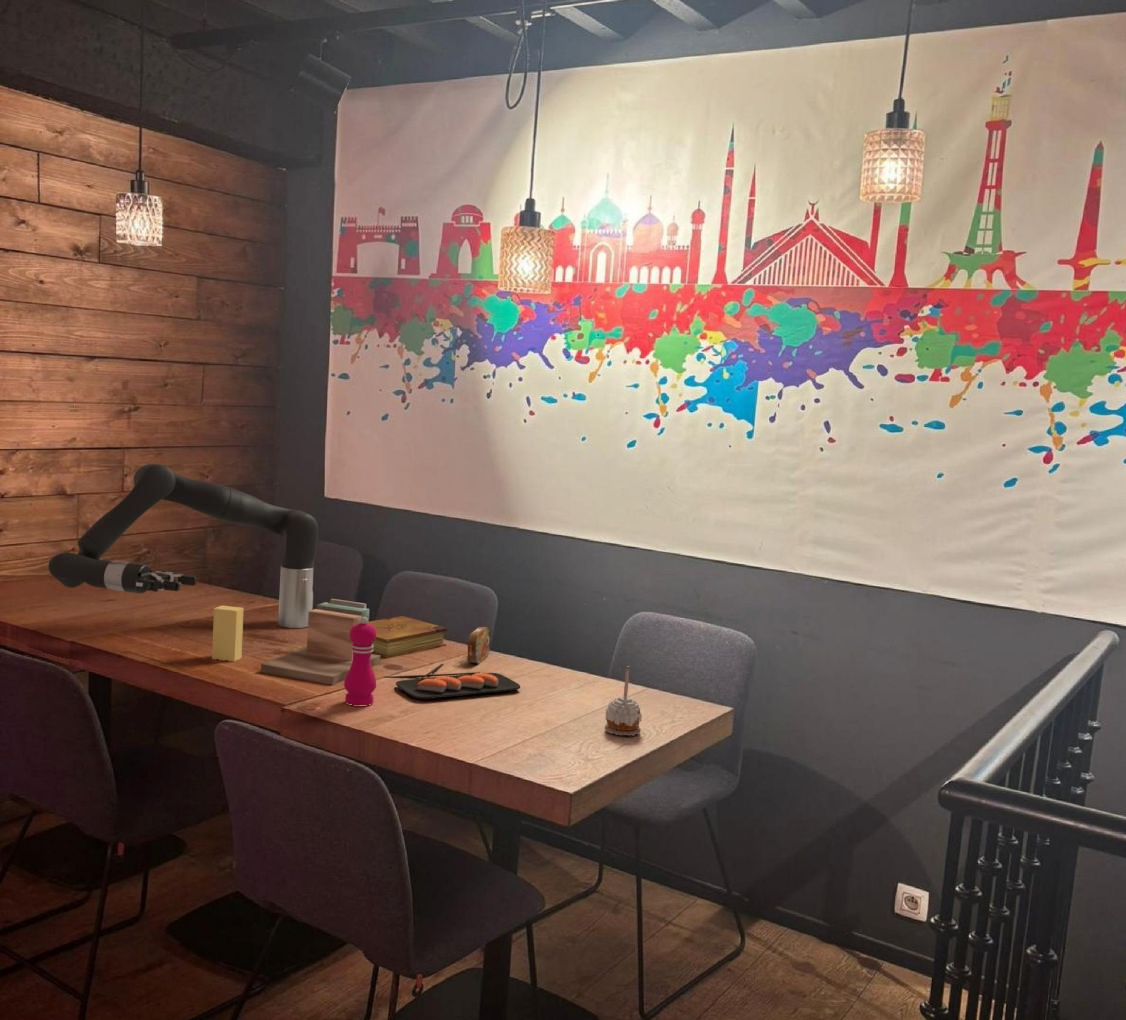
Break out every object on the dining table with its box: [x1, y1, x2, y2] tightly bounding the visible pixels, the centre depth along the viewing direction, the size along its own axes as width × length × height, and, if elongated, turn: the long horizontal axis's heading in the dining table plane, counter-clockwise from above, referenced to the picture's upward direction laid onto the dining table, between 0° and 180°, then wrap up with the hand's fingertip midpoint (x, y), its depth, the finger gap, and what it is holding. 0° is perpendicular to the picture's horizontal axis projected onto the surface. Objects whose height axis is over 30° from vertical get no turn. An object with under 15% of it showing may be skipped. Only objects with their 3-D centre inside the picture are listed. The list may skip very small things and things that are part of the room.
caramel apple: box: [604, 665, 642, 736], centre depth 240 cm, size 8×8×15 cm
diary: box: [369, 615, 448, 659], centre depth 301 cm, size 23×19×6 cm
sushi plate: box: [383, 663, 521, 700], centre depth 270 cm, size 29×30×4 cm
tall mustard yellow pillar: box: [211, 605, 245, 662], centre depth 274 cm, size 4×6×13 cm, turn 82°
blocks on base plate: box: [260, 598, 382, 686], centre depth 273 cm, size 24×20×15 cm
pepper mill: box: [343, 617, 377, 706], centre depth 246 cm, size 7×7×20 cm
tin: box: [467, 626, 492, 665], centre depth 292 cm, size 15×3×8 cm, turn 168°
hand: (187, 584), depth 274 cm, fingers open, 8 cm apart
